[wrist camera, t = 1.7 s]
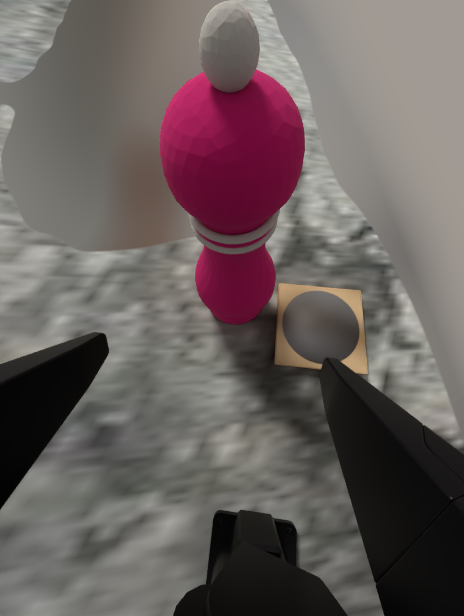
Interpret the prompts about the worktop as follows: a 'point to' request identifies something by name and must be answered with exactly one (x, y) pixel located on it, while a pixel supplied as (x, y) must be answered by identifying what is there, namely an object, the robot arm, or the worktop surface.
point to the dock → (319, 327)
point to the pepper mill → (232, 163)
